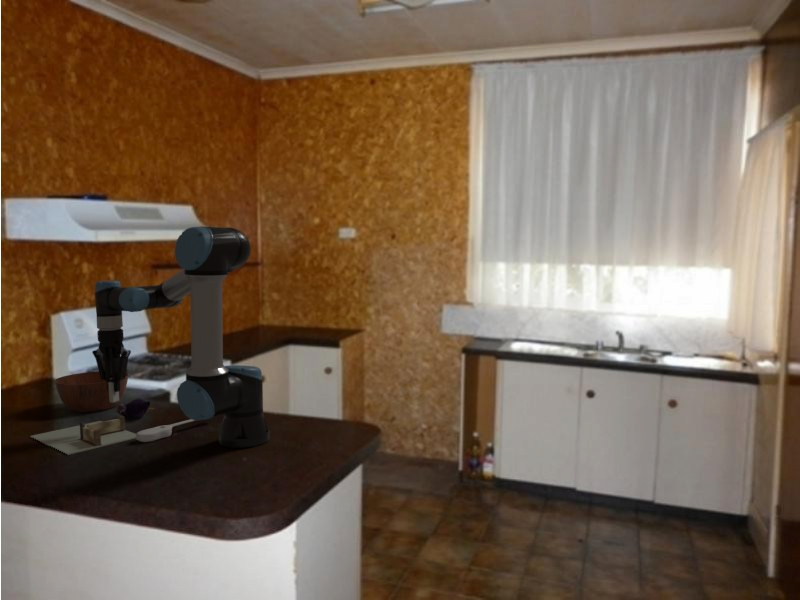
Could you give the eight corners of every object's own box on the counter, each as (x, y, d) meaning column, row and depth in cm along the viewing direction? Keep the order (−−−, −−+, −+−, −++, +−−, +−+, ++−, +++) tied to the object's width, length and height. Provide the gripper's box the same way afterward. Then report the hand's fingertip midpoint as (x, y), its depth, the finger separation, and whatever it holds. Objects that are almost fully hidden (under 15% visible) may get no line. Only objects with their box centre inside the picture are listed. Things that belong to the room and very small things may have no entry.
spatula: (207, 420, 215) (207, 412, 215) (218, 423, 212) (218, 415, 212) (132, 441, 192) (131, 432, 192) (142, 444, 189) (142, 435, 189)
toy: (152, 420, 218) (150, 401, 217) (116, 424, 214) (114, 406, 213) (154, 410, 228) (153, 392, 227) (120, 414, 225) (118, 396, 224)
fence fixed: (101, 446, 188) (100, 428, 188) (96, 447, 187) (95, 429, 187) (84, 439, 195) (83, 422, 195) (79, 440, 194) (78, 423, 194)
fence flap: (88, 437, 195) (88, 424, 195) (87, 436, 196) (86, 423, 196) (125, 429, 203) (124, 416, 203) (123, 428, 204) (122, 416, 204)
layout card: (141, 437, 197) (141, 435, 197) (67, 455, 180) (67, 453, 180) (100, 422, 215) (100, 420, 215) (30, 437, 198) (30, 435, 198)
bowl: (81, 419, 219) (80, 387, 218) (42, 410, 232) (40, 380, 231) (144, 404, 240) (142, 374, 239) (104, 396, 253) (103, 368, 252)
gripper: (135, 327, 203) (139, 399, 204) (101, 327, 206) (105, 398, 208) (119, 330, 196) (123, 405, 197) (84, 330, 199) (89, 403, 201)
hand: (114, 401), depth 203 cm, fingers closed
